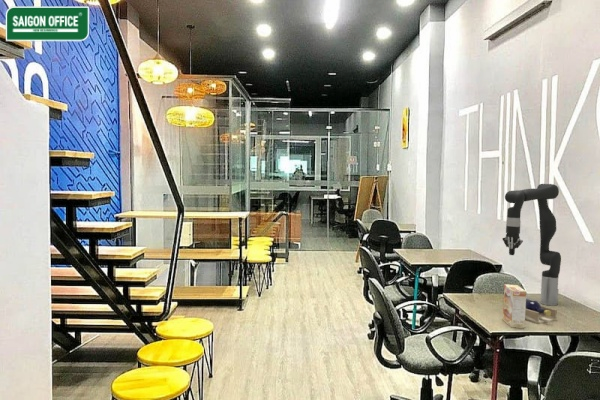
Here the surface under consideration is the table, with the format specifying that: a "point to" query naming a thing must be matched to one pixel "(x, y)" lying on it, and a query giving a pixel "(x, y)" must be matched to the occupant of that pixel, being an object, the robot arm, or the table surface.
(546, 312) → the bottle
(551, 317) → the u rest
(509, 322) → the coffeecake box
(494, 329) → the table surface
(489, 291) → the table surface
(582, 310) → the table surface
